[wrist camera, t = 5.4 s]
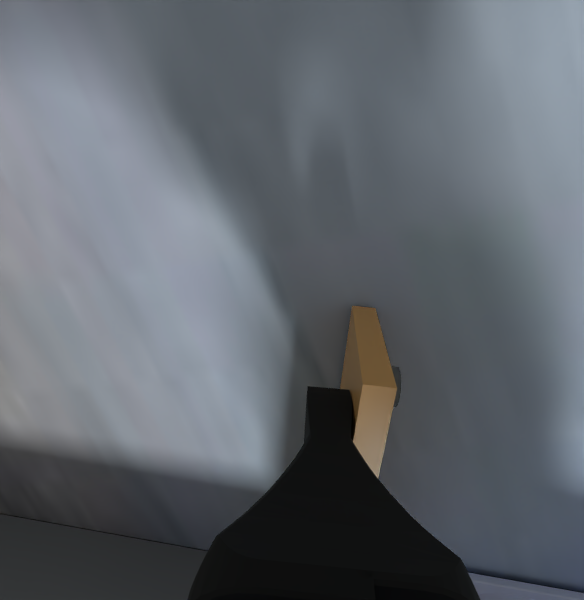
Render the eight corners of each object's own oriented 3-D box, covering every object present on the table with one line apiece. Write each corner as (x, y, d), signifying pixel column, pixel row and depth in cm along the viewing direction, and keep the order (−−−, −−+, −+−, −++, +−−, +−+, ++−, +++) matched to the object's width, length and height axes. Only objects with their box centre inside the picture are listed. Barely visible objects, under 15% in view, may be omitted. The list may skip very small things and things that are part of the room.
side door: (343, 569, 19) (348, 706, 15) (312, 565, 19) (307, 700, 15) (392, 307, 14) (423, 391, 10) (350, 303, 14) (360, 384, 10)
